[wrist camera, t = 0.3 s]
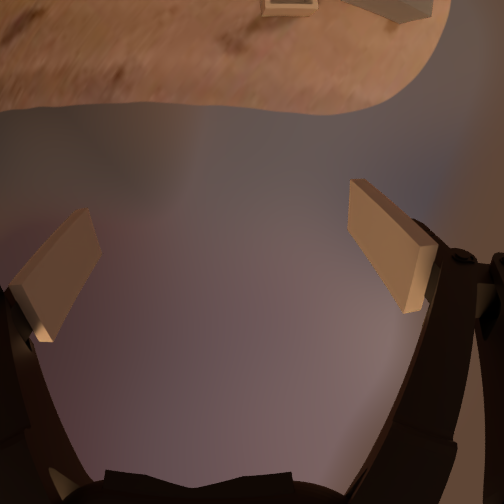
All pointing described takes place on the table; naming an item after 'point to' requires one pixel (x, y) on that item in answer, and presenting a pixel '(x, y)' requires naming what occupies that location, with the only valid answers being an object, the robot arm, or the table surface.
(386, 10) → the cover
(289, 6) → the beige tub
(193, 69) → the table surface
